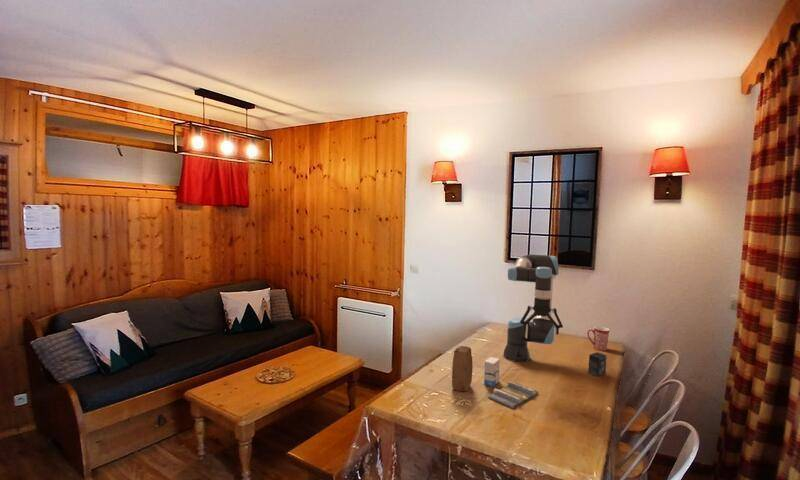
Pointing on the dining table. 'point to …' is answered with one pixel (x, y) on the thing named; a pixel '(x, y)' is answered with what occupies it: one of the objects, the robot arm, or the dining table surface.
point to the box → (597, 364)
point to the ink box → (491, 371)
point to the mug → (600, 338)
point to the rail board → (512, 395)
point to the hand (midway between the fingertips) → (540, 339)
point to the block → (462, 368)
